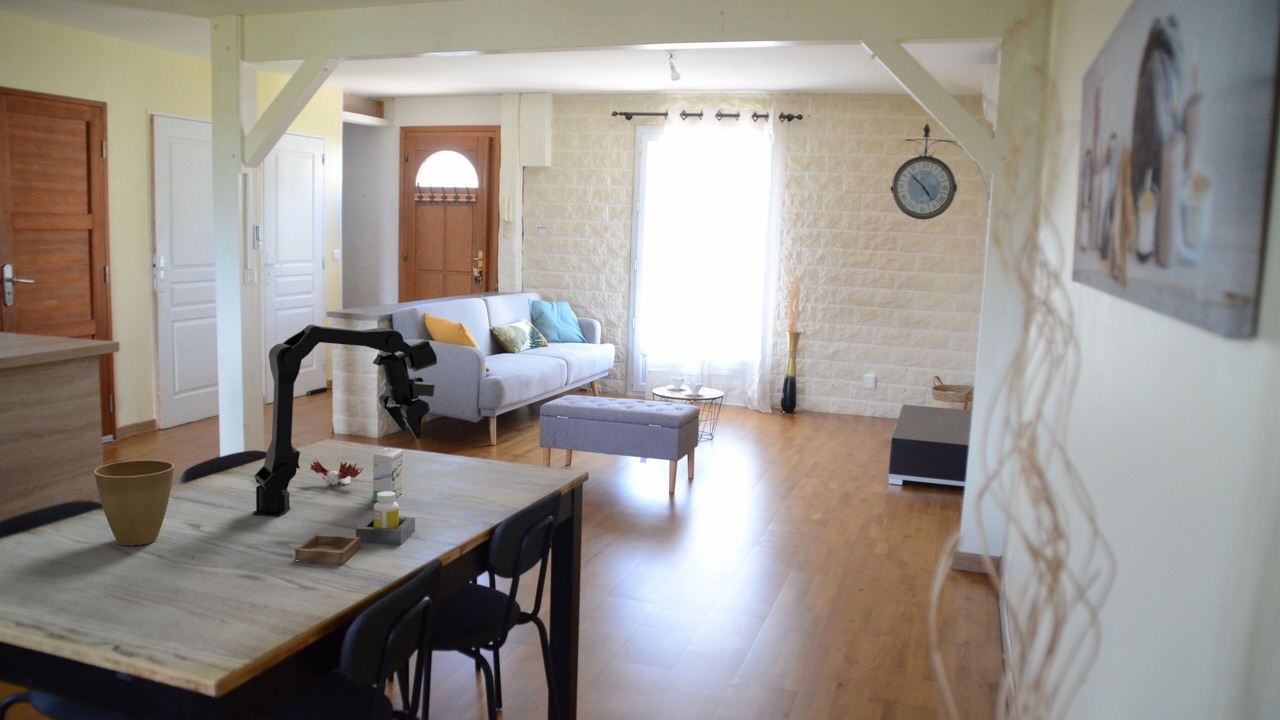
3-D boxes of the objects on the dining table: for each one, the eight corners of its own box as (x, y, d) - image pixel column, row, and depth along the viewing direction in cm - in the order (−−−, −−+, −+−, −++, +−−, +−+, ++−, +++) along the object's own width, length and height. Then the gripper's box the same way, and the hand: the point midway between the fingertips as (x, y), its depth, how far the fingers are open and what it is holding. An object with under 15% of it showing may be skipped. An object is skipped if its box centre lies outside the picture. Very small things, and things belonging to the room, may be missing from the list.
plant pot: (191, 534, 211) (189, 463, 209) (139, 556, 197) (136, 479, 194) (134, 526, 215) (132, 455, 212) (79, 546, 200) (76, 471, 198)
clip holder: (356, 541, 211) (356, 528, 211) (371, 527, 221) (372, 515, 221) (400, 544, 210) (401, 531, 210) (414, 530, 220) (415, 517, 220)
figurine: (375, 482, 258) (375, 458, 257) (352, 493, 247) (352, 468, 246) (325, 476, 262) (325, 452, 261) (300, 487, 251) (300, 462, 250)
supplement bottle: (400, 532, 218) (401, 490, 217) (395, 540, 213) (396, 497, 212) (376, 531, 218) (377, 489, 217) (370, 539, 213) (371, 496, 212)
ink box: (391, 502, 241) (391, 456, 239) (372, 500, 242) (372, 454, 240) (403, 493, 249) (403, 448, 248) (385, 491, 250) (385, 447, 248)
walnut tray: (295, 561, 198) (295, 549, 197) (315, 545, 208) (315, 534, 207) (343, 564, 197) (343, 552, 197) (360, 548, 207) (360, 537, 207)
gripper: (442, 373, 240) (455, 431, 244) (412, 362, 255) (425, 417, 259) (400, 386, 234) (414, 446, 238) (372, 375, 249) (386, 431, 253)
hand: (411, 434), depth 247 cm, fingers open, 9 cm apart
